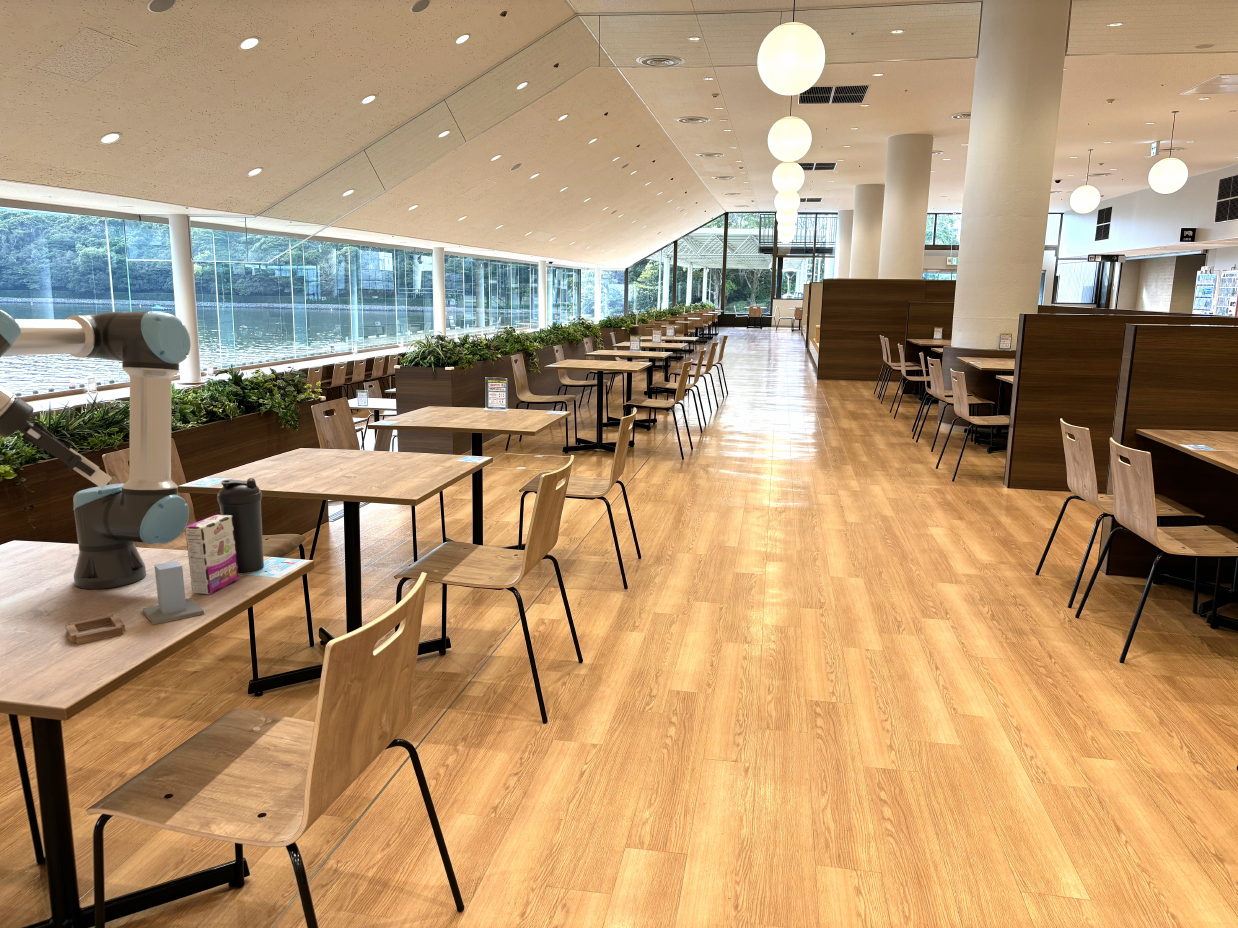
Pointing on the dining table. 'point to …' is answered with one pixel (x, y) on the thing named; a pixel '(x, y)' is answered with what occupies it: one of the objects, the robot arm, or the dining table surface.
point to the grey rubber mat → (158, 617)
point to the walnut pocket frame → (98, 634)
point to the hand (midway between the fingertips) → (100, 477)
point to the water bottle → (244, 521)
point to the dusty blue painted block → (170, 587)
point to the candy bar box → (212, 554)
